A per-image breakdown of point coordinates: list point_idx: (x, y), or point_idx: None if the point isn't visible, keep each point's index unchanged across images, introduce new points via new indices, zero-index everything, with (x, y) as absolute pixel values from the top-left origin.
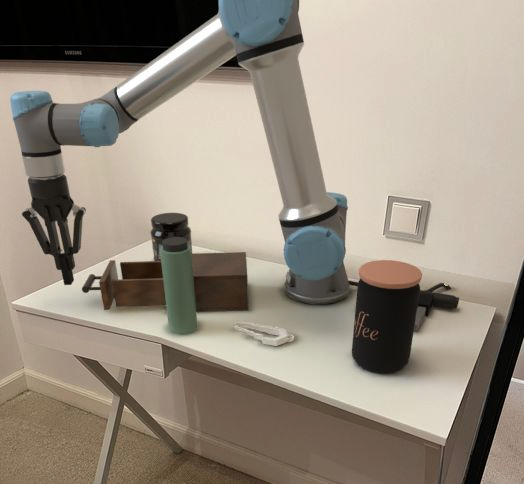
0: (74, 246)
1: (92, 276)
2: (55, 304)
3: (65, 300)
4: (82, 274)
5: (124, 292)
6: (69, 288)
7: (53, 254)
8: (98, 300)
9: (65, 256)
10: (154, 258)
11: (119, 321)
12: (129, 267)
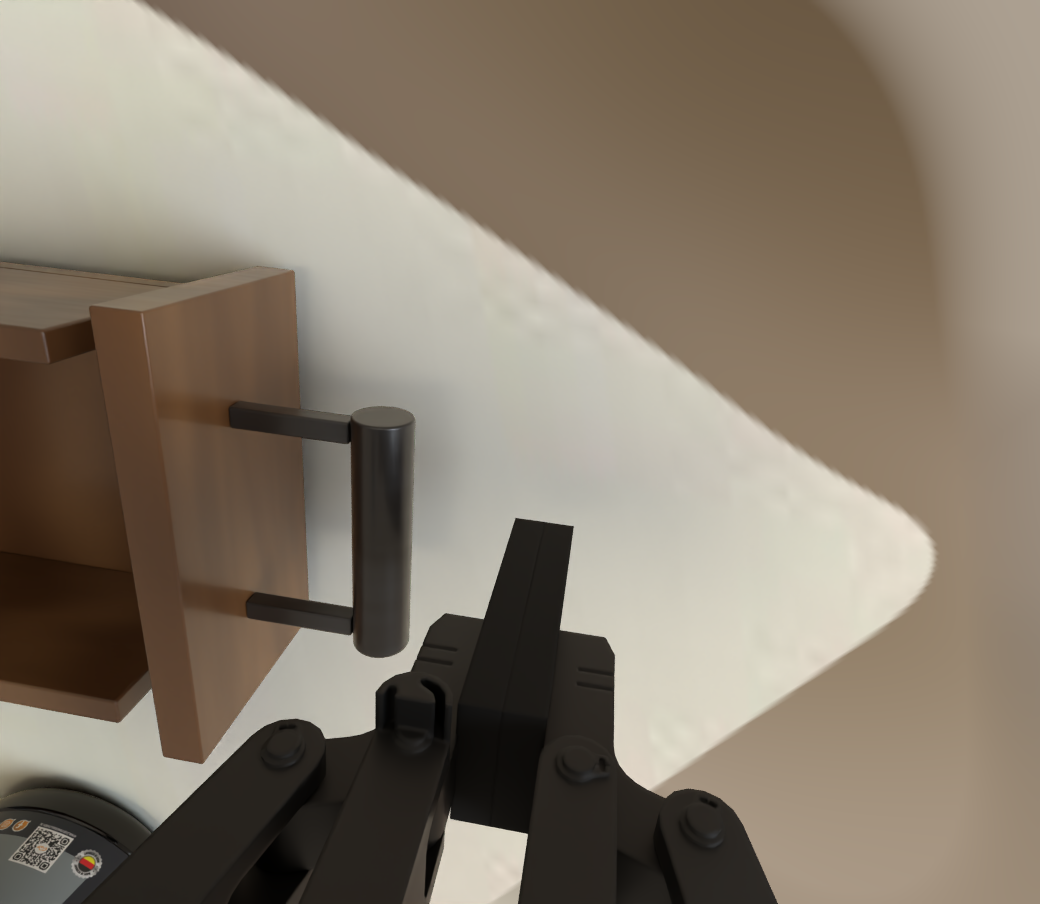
0: (246, 809)
1: (359, 617)
2: (680, 488)
3: (617, 533)
4: None
5: (42, 294)
6: None
7: (602, 769)
8: None
9: (441, 700)
10: None
11: (176, 119)
12: (76, 662)
